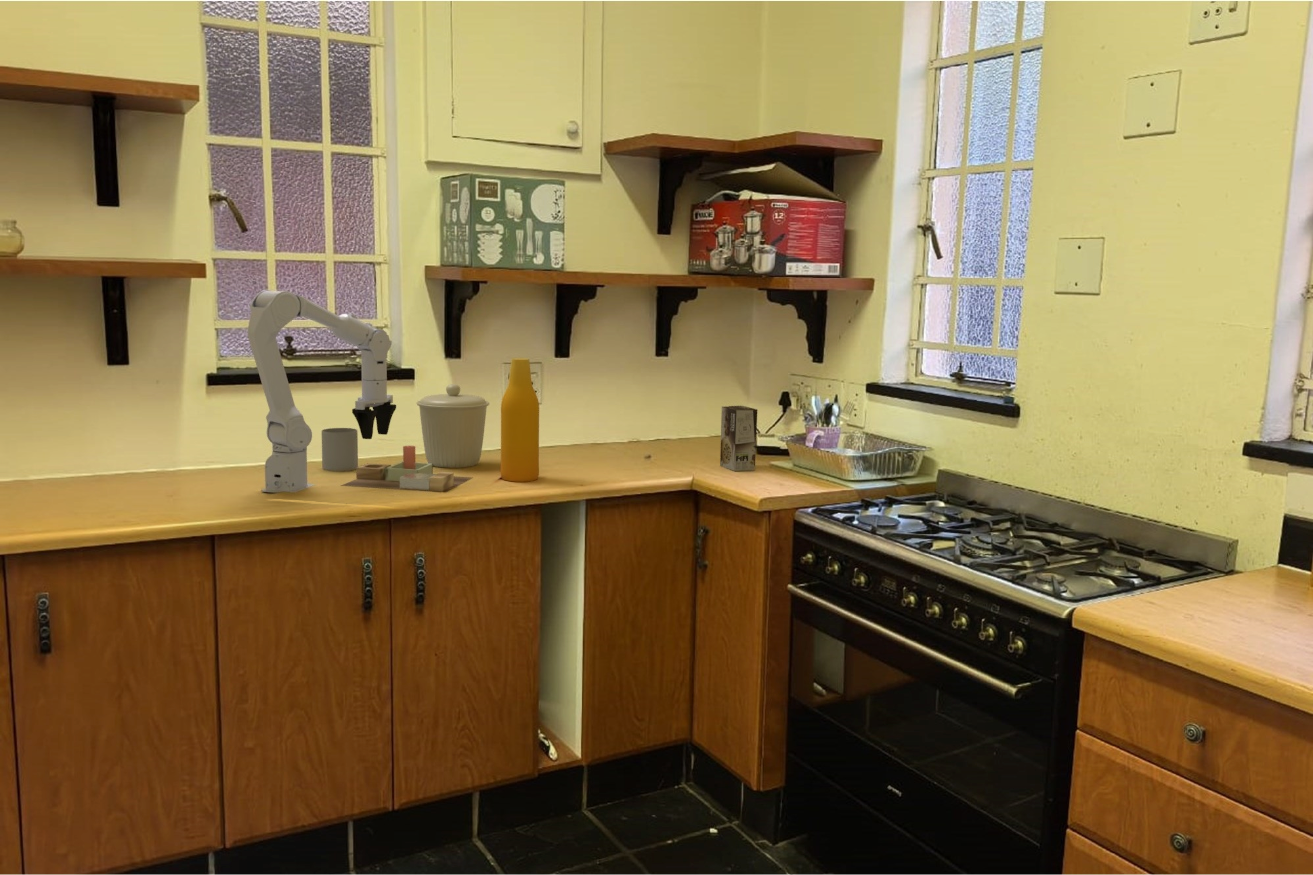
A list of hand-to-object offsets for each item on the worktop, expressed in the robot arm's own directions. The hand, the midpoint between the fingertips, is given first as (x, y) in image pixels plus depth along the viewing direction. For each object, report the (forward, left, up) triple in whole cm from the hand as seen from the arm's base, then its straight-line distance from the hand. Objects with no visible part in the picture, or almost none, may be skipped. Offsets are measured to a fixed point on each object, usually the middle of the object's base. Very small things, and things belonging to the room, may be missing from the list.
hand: (375, 436), depth 248 cm
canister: (+20, -12, -10) cm, 25 cm away
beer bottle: (+9, -33, -10) cm, 36 cm away
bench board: (-5, -10, -10) cm, 15 cm away
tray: (-1, -9, -9) cm, 13 cm away
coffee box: (+40, -83, -10) cm, 93 cm away
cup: (+6, +12, -10) cm, 17 cm away
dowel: (-1, -9, -9) cm, 13 cm away
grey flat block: (-10, -15, -9) cm, 21 cm away
